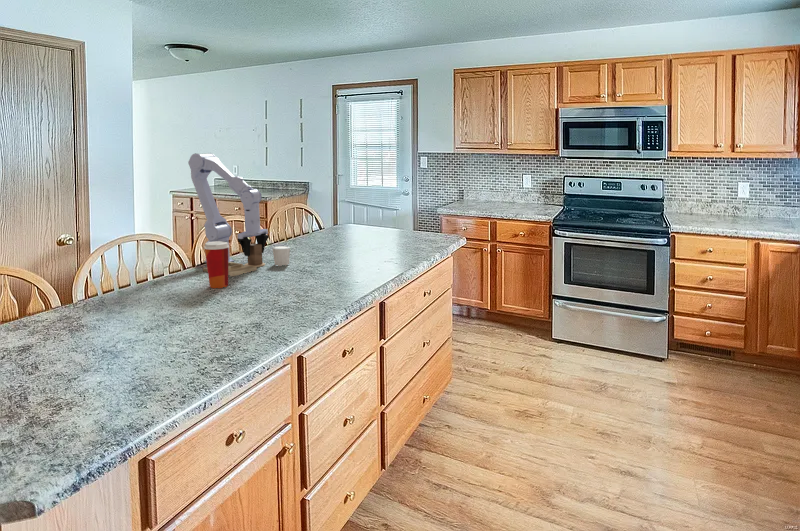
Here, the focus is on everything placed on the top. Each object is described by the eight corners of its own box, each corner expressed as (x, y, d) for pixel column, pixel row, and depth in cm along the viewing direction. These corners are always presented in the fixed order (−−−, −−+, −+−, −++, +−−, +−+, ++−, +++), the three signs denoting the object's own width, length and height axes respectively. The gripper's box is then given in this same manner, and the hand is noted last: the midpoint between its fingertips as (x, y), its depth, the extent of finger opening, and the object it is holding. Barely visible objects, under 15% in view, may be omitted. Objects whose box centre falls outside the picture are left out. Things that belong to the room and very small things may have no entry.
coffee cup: (221, 282, 200) (218, 240, 197) (236, 285, 196) (234, 242, 192) (201, 287, 193) (197, 243, 190) (216, 290, 189) (213, 246, 186)
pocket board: (203, 271, 217) (202, 265, 216) (227, 265, 227) (226, 259, 227) (233, 276, 209) (232, 269, 208) (256, 270, 219) (256, 264, 219)
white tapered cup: (286, 266, 226) (285, 249, 224) (270, 265, 227) (269, 248, 225) (293, 262, 232) (292, 246, 231) (277, 262, 233) (276, 245, 232)
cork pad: (240, 265, 226) (240, 264, 226) (254, 262, 233) (254, 261, 233) (254, 268, 222) (254, 267, 222) (269, 264, 229) (269, 263, 229)
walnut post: (247, 264, 227) (246, 244, 225) (255, 262, 230) (254, 243, 228) (255, 265, 225) (254, 245, 223) (262, 264, 228) (261, 244, 226)
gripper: (246, 223, 216) (248, 258, 219) (272, 218, 228) (274, 252, 231) (232, 221, 219) (234, 256, 222) (259, 217, 231) (261, 250, 234)
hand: (254, 254), depth 227 cm, fingers open, 7 cm apart
